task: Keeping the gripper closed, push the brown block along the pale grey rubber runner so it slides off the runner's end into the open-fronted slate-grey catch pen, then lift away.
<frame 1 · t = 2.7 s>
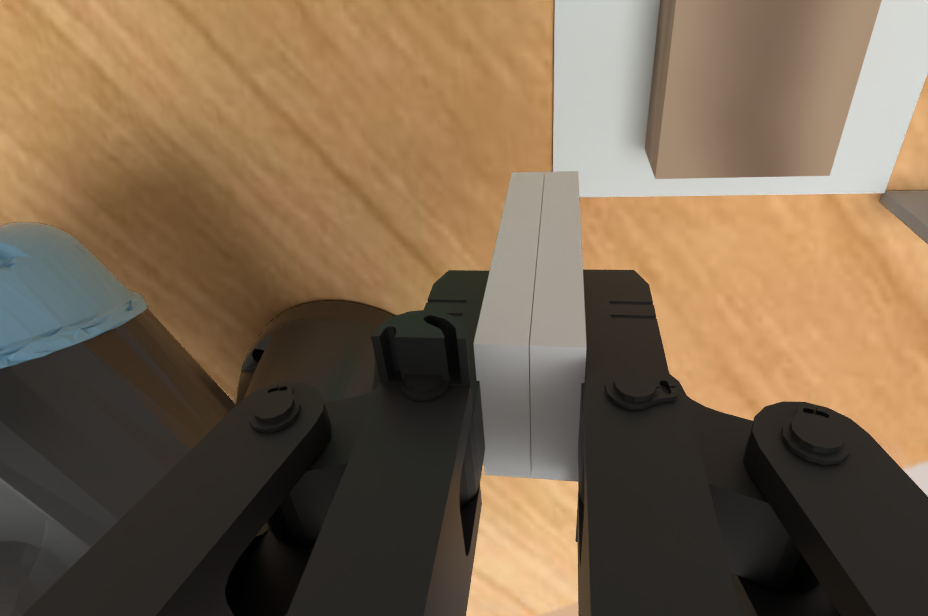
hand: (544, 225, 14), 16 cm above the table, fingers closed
brown block: (732, 70, 25), resting on runner mat
runner mat: (731, 69, 25), on the table
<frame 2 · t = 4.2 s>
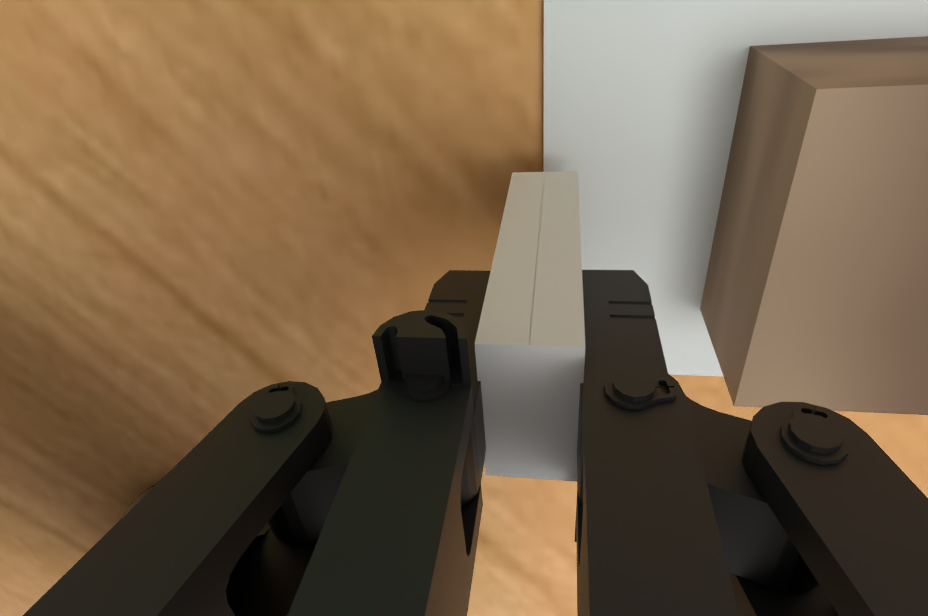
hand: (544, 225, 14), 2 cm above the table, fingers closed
brown block: (873, 193, 14), resting on runner mat
runner mat: (868, 188, 14), on the table
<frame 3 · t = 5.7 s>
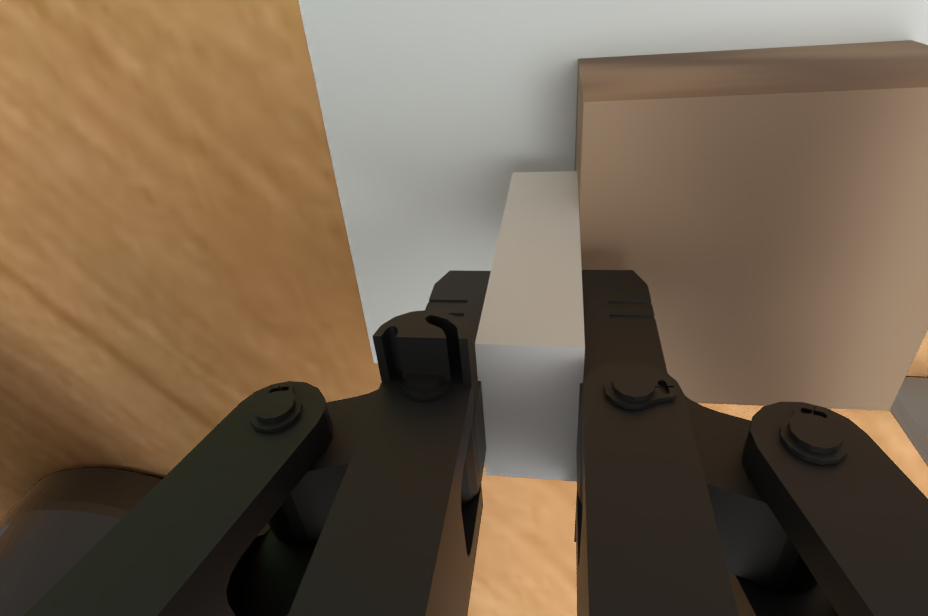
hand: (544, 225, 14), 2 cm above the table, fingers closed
brown block: (711, 196, 14), resting on runner mat
runner mat: (626, 194, 15), on the table
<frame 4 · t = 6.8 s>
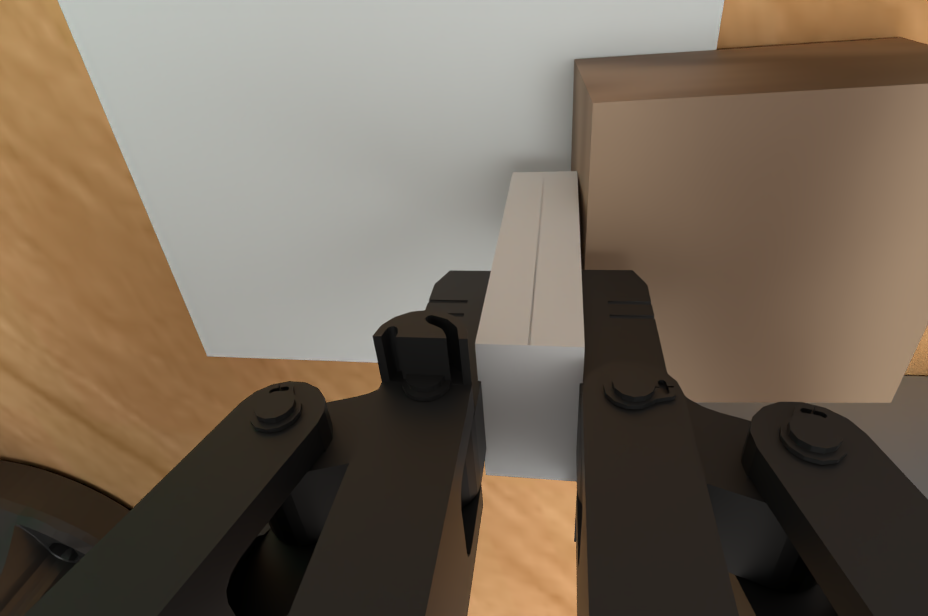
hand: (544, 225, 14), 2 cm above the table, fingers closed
brown block: (707, 195, 14), on the table, touching gripper, runner mat
catch pen: (896, 189, 14), on the table
runner mat: (397, 196, 16), on the table
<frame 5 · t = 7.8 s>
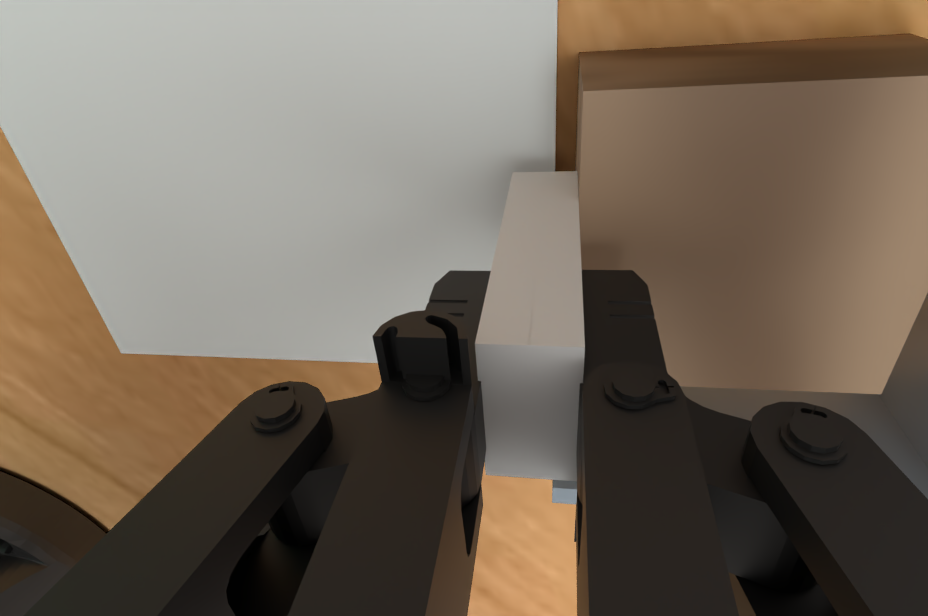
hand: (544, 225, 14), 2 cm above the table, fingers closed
brown block: (709, 186, 15), on the table
catch pen: (747, 190, 14), on the table
runner mat: (281, 197, 17), on the table
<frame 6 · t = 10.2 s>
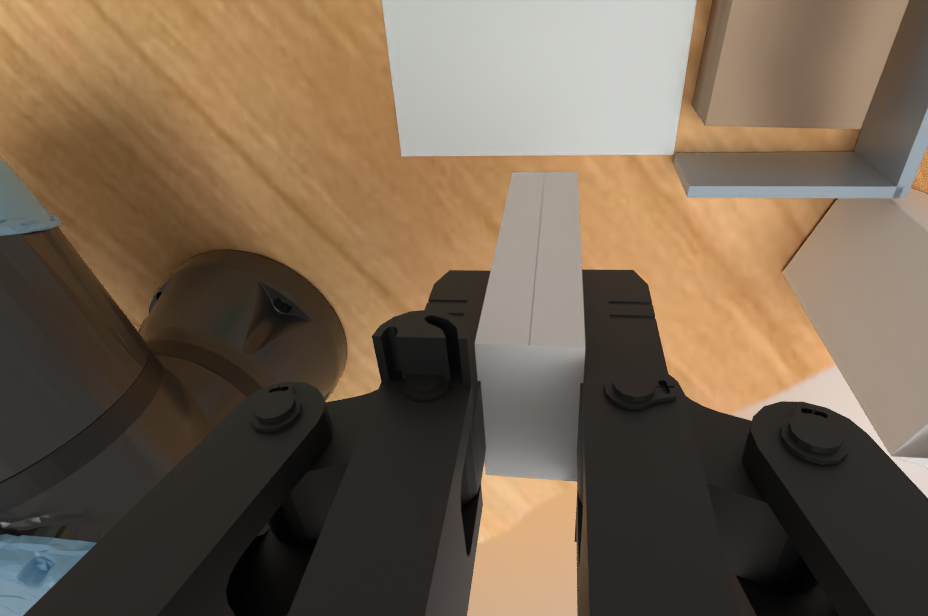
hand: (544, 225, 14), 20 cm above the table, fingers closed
brown block: (778, 33, 28), on the table
catch pen: (793, 33, 28), on the table
milk carton: (869, 240, 33), on the table
runner mat: (533, 44, 30), on the table
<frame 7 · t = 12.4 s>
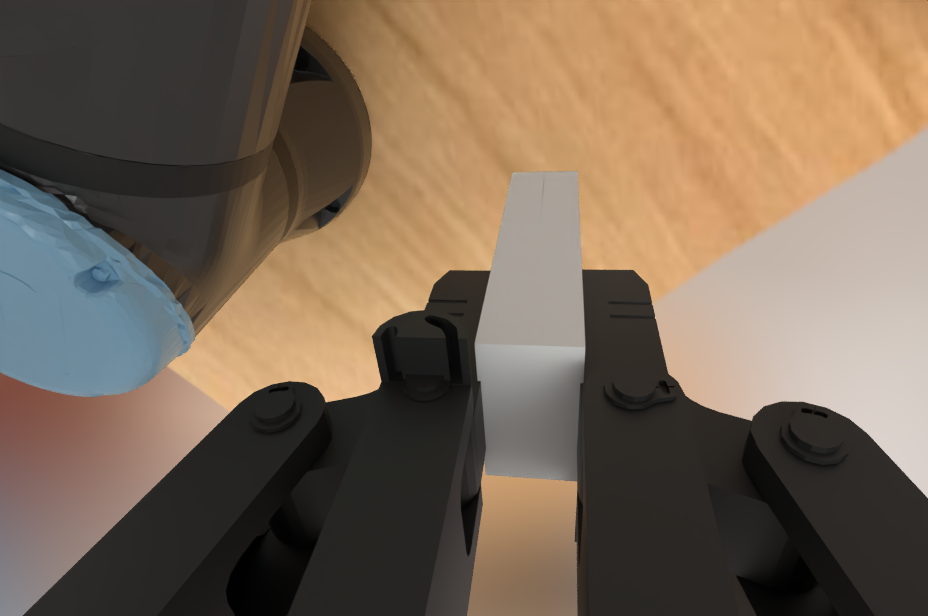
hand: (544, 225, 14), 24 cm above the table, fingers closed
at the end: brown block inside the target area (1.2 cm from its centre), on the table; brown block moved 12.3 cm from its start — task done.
